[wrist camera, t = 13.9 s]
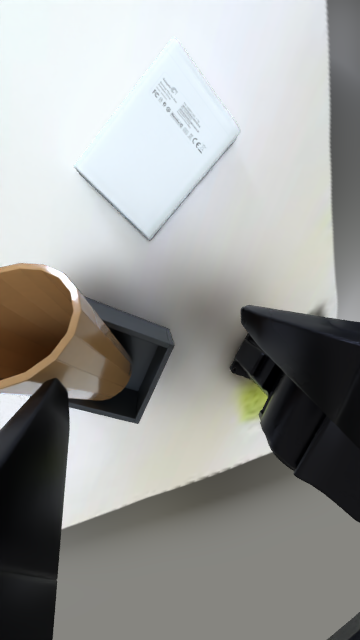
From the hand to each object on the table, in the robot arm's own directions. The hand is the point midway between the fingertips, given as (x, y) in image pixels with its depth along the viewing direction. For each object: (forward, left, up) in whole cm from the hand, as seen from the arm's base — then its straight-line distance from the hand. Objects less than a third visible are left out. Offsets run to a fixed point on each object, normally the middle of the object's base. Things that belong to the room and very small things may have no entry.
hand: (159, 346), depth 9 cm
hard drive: (+5, -13, -13) cm, 19 cm away
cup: (+2, +8, -10) cm, 13 cm away
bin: (+2, +7, -13) cm, 15 cm away
